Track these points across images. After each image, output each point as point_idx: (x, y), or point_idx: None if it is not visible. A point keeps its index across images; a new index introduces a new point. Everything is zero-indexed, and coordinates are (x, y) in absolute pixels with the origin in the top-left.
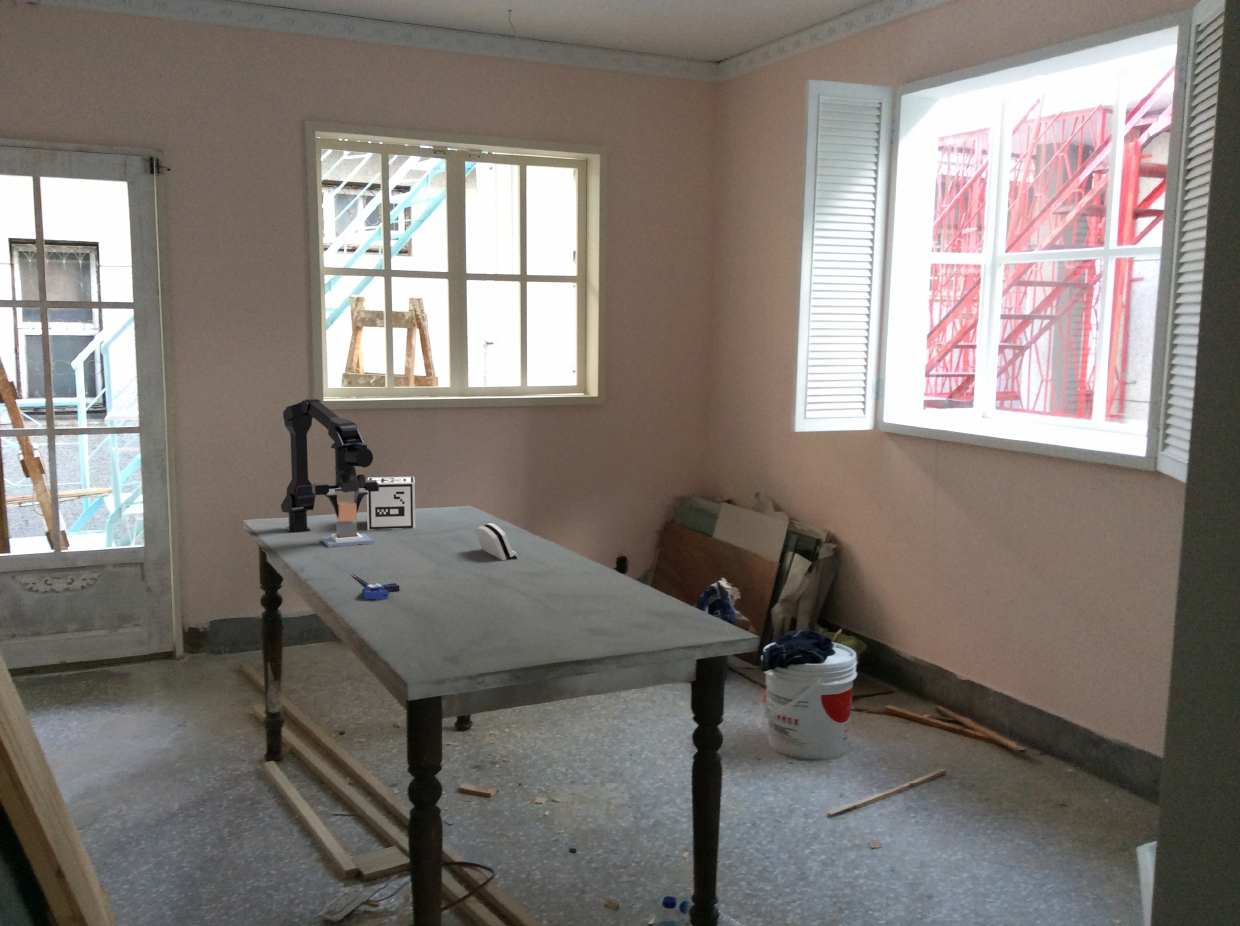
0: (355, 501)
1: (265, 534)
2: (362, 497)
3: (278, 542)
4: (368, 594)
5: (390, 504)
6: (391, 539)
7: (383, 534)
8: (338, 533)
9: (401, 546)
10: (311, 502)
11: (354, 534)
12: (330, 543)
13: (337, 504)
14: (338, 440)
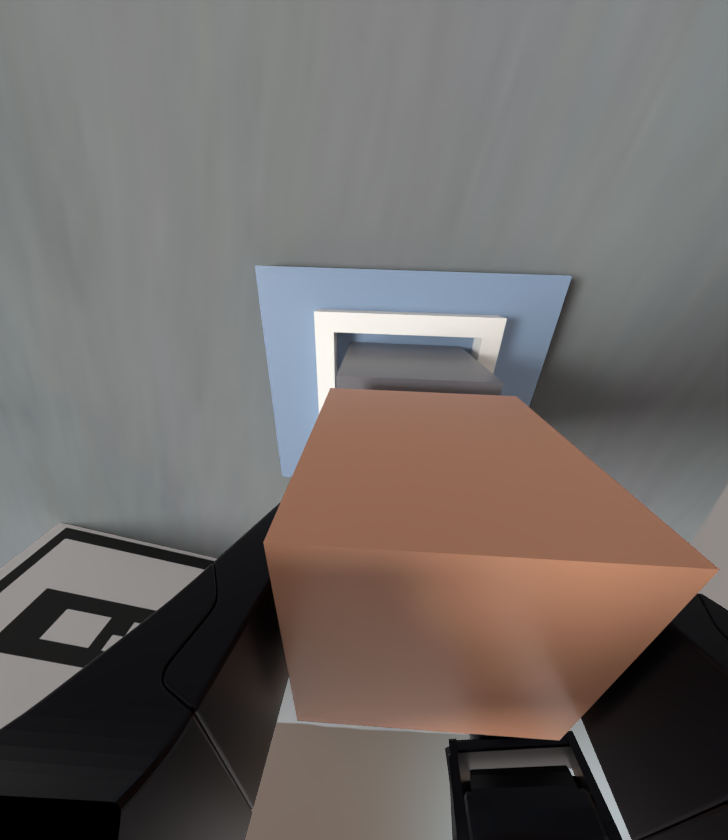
0: (260, 669)
1: None
2: None
3: (676, 515)
4: None
5: (56, 682)
6: (148, 344)
7: (195, 477)
8: None
9: (38, 3)
10: (482, 794)
11: (365, 350)
12: (551, 289)
13: (668, 625)
14: None
